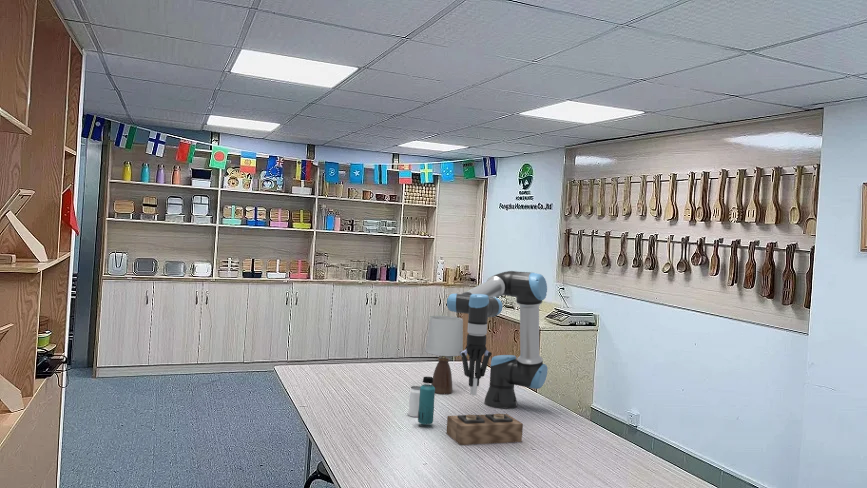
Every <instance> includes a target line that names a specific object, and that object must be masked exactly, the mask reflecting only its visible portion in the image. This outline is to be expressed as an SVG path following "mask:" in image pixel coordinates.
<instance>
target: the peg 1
mask: <svg viewBox="0 0 867 488" xmlns="http://www.w3.org/2000/svg"><path fill="white" fill-rule="evenodd" d="M465 415H466V419H467V420H476V416H475V415H476V414H465Z"/></svg>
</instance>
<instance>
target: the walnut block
mask: <svg viewBox="0 0 867 488" xmlns="http://www.w3.org/2000/svg"><path fill="white" fill-rule="evenodd" d="M494 414H495V413H487V414H474V415H475V416H476V420H467V419H466V415H467V414H458V415H447V417H446V419H447V421H446V433H445V434H446V435H447V436H448V437H450V438H451V439H453V440H454V441H455V443H457V444H458V445H459V446H465V445H467V446H470V445H486V444H505V443H506V444H507V443H522V442H523V429H524V424H523V423H522V422H521V421H519V420H517V419H515V418H514V417H512V416H511V415H510V414H507V413H502V414H503V415H504V419H495V418H494Z"/></svg>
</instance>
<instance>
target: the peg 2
mask: <svg viewBox="0 0 867 488" xmlns="http://www.w3.org/2000/svg"><path fill="white" fill-rule="evenodd" d="M493 414H494V418H495V419H504V415H503V414H504V413H493Z"/></svg>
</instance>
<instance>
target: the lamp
mask: <svg viewBox="0 0 867 488" xmlns="http://www.w3.org/2000/svg"><path fill="white" fill-rule="evenodd" d="M463 330H464V320H463V318H462V317H457V316H450V315H432V316H430V317H429V324H428V331H427V336H426V337H427V338H426V345H425V353H426V354H429V355H433V356H437V361H438V362H437V364H436V365H435V368H434V371H433V375H432V378H433V383H430V385H433V386H434V388H435V394H439V395H449V394H453V391H454V390H453V377H452V370H451V367H450V363H449V362H450V360H451V359H450V358H449V357H458V356H460V357H461V355H460V352H463V351H464V341H463V339H464V331H463ZM438 356H439V357H438Z"/></svg>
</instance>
